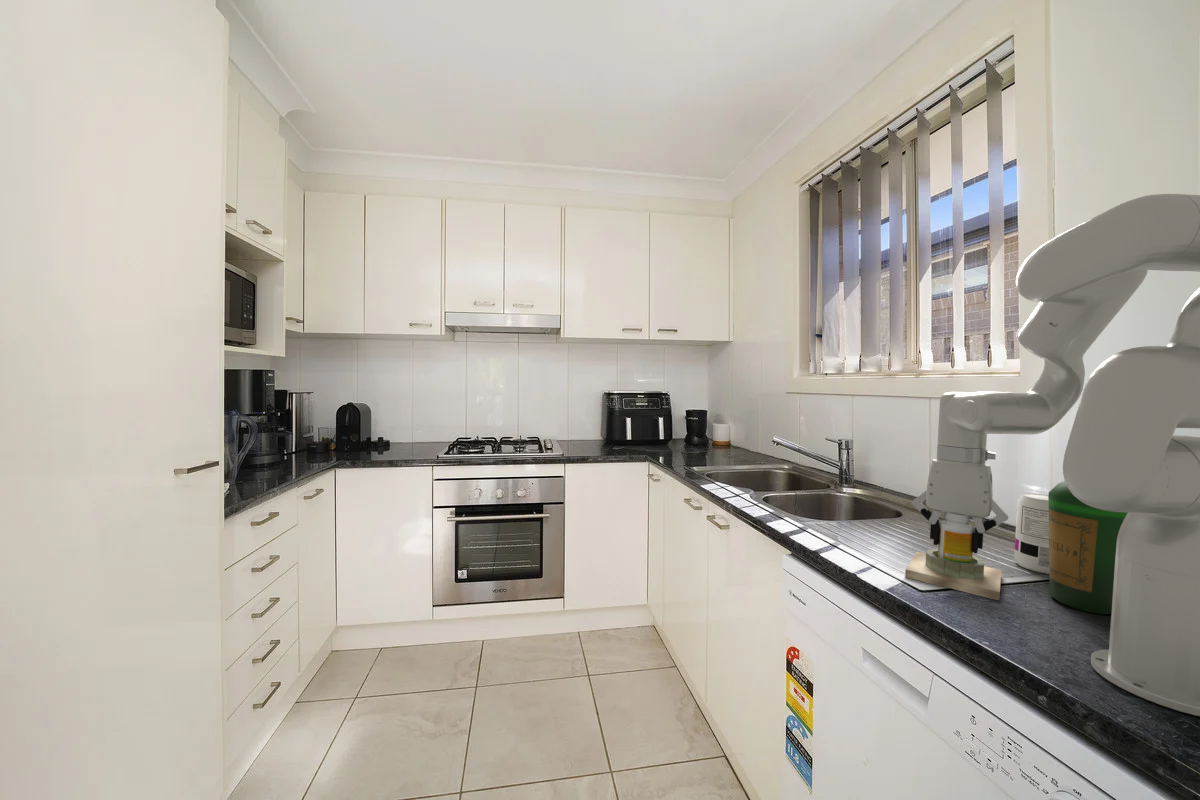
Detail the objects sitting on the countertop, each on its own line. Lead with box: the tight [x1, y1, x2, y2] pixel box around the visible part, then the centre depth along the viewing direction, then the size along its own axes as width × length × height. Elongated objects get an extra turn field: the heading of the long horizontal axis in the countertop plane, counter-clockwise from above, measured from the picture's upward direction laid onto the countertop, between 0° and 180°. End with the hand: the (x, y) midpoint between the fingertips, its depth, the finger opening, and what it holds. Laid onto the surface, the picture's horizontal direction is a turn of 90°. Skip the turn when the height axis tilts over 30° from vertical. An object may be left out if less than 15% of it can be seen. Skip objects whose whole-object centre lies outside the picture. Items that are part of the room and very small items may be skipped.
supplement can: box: [1013, 492, 1049, 575], centre depth 98 cm, size 8×8×15 cm
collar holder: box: [904, 548, 1002, 601], centre depth 92 cm, size 14×14×4 cm
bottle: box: [1047, 480, 1128, 615], centre depth 81 cm, size 11×11×28 cm
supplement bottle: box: [937, 512, 975, 564], centre depth 92 cm, size 5×5×10 cm
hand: (955, 546), depth 92 cm, fingers closed on supplement bottle, 5 cm apart
